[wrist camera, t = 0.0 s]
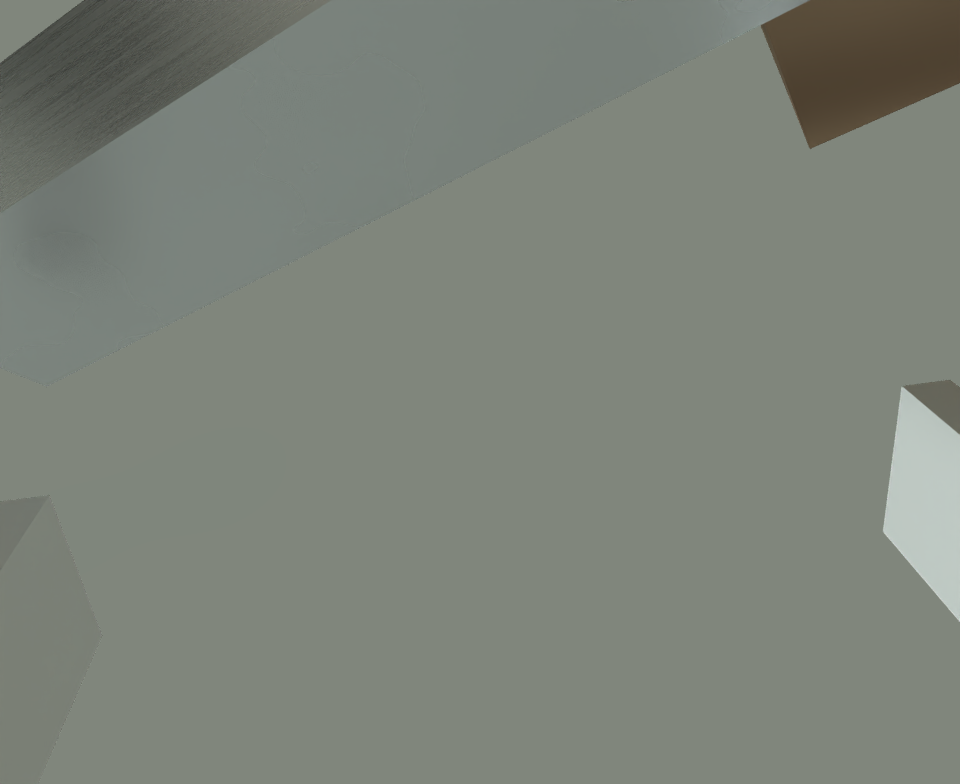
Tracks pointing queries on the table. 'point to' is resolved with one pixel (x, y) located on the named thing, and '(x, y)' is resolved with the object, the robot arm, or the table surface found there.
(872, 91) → the stand
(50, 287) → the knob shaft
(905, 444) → the robot arm
